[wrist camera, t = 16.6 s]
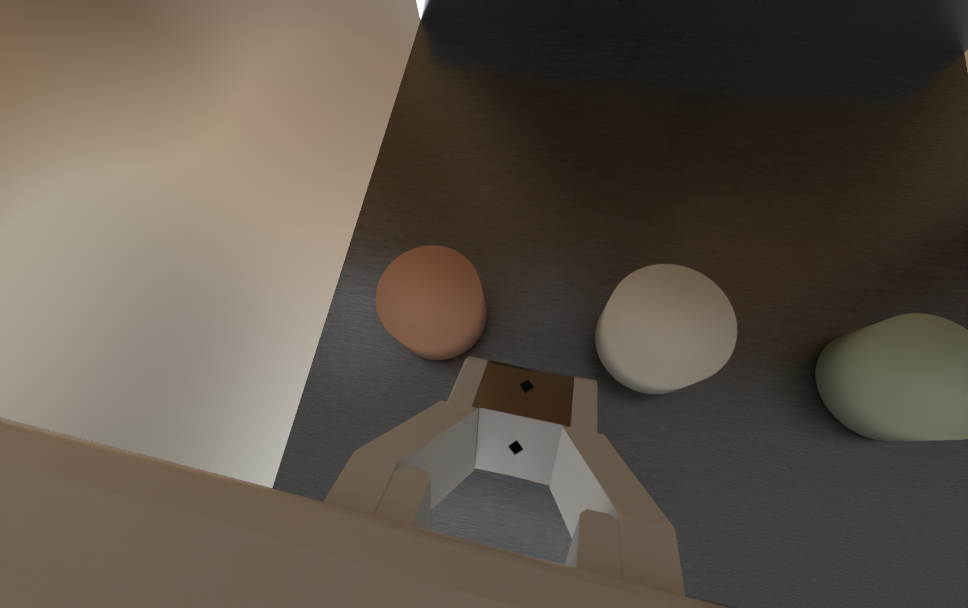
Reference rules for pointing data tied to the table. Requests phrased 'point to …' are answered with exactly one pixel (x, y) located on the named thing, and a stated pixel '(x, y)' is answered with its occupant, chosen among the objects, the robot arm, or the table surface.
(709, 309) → the cream button
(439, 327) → the terracotta button
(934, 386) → the sage button
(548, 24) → the button panel
